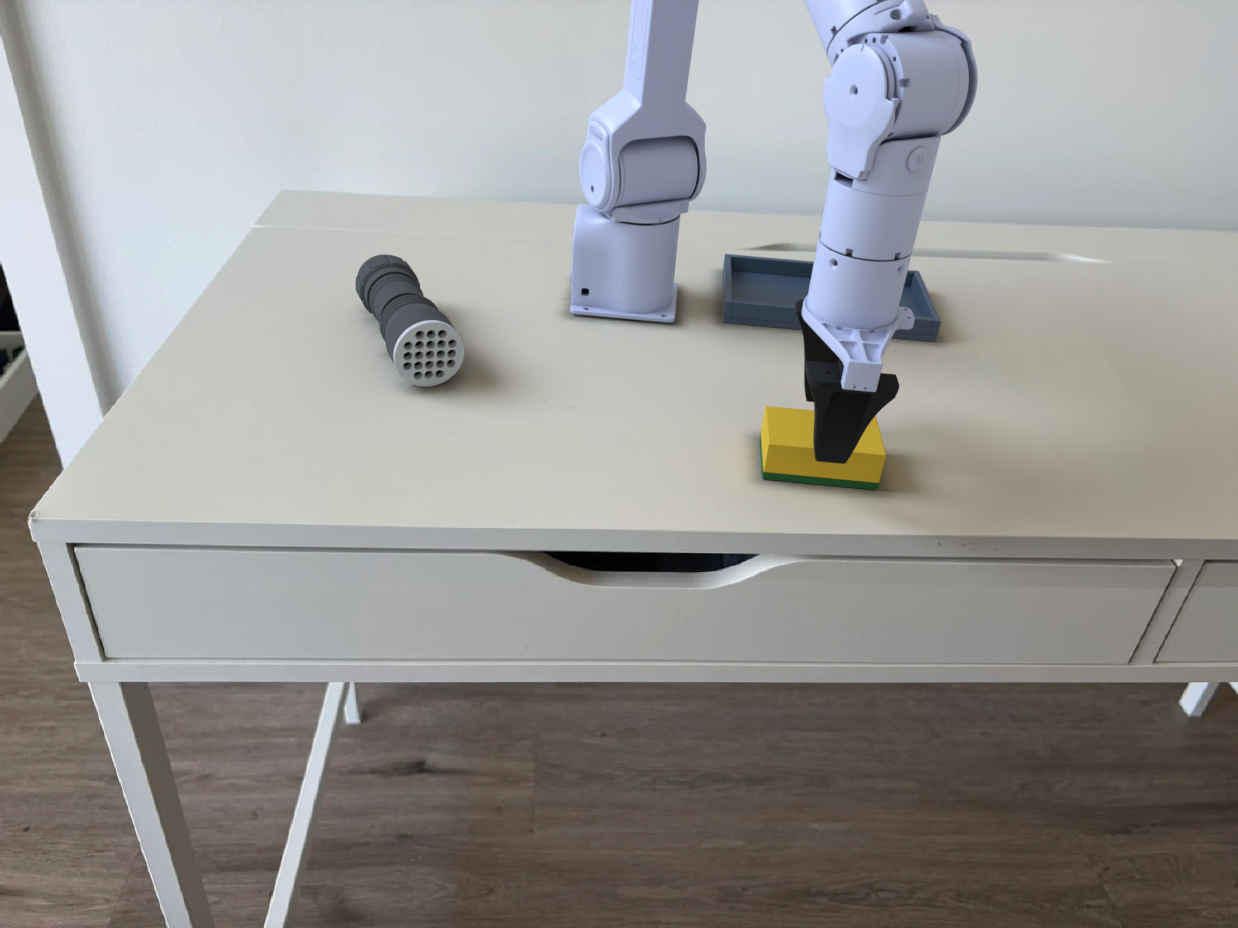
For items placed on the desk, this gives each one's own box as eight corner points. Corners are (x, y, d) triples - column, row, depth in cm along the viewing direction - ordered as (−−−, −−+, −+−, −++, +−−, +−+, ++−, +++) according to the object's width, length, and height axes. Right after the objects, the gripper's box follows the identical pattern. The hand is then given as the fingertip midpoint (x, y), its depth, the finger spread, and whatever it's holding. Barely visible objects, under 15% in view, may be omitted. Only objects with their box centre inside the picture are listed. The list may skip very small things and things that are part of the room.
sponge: (762, 479, 65) (768, 443, 63) (759, 439, 69) (765, 405, 67) (877, 490, 64) (886, 455, 63) (867, 450, 69) (876, 415, 67)
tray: (722, 322, 84) (725, 301, 83) (722, 273, 94) (724, 253, 92) (935, 342, 84) (941, 321, 82) (913, 290, 93) (919, 270, 92)
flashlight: (354, 308, 82) (347, 251, 79) (413, 300, 85) (409, 243, 81) (397, 392, 71) (392, 328, 68) (465, 380, 73) (463, 317, 70)
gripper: (955, 298, 51) (899, 496, 59) (910, 208, 63) (868, 382, 71) (826, 287, 51) (787, 485, 59) (806, 199, 63) (775, 373, 71)
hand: (824, 428), depth 65 cm, fingers open, 7 cm apart
